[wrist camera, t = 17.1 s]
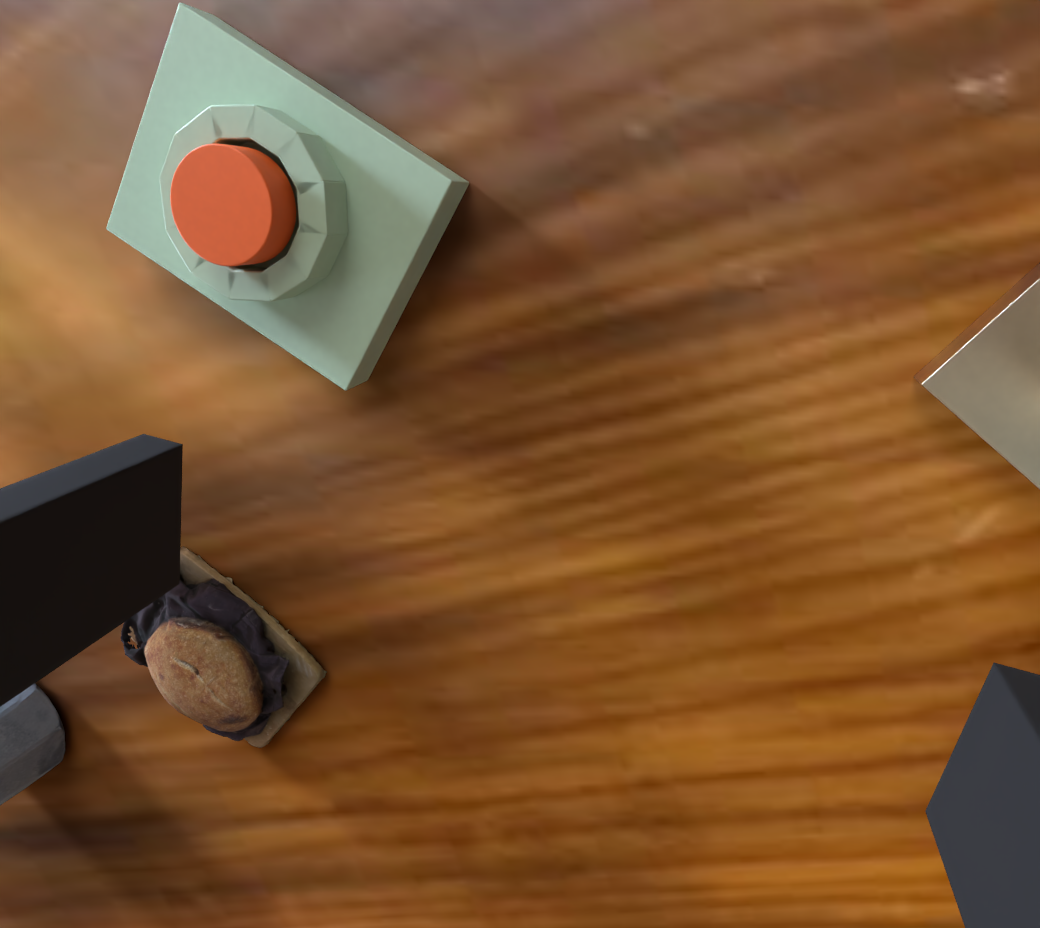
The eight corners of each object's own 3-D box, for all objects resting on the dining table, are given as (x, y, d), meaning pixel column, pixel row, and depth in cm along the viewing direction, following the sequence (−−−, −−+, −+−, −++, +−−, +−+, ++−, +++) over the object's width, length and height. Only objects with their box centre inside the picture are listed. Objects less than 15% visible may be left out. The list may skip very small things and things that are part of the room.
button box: (470, 182, 32) (436, 179, 28) (367, 381, 36) (325, 400, 32) (213, 14, 32) (146, -11, 29) (140, 227, 36) (73, 230, 32)
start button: (314, 186, 30) (290, 184, 28) (271, 284, 31) (246, 288, 30) (221, 124, 30) (192, 119, 28) (183, 226, 32) (154, 226, 30)
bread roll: (338, 664, 41) (303, 705, 38) (261, 750, 44) (223, 794, 41) (186, 533, 41) (138, 562, 38) (121, 629, 44) (71, 664, 41)
